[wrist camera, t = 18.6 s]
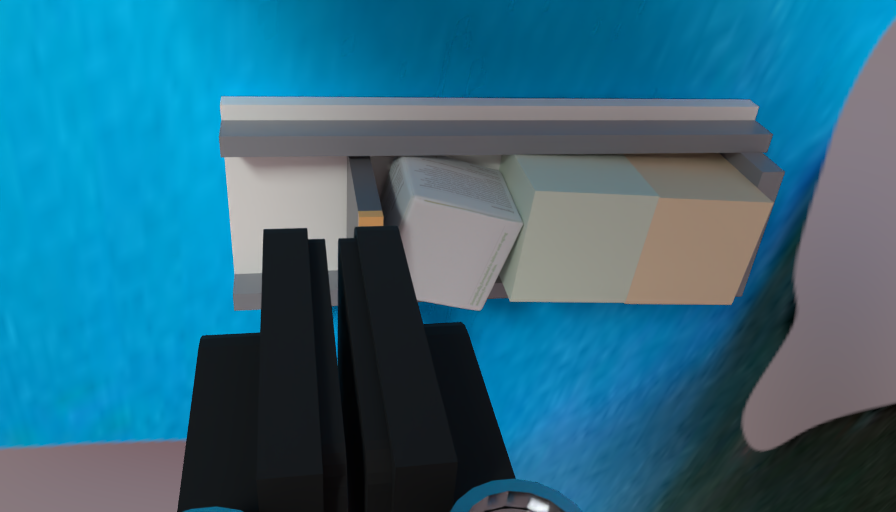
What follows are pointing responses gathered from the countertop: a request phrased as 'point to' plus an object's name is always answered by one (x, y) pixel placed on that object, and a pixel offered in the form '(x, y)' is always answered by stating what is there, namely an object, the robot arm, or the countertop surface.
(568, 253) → the sage box
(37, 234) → the countertop surface
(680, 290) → the kraft box
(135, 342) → the countertop surface
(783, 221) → the countertop surface
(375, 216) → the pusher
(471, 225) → the small box
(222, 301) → the countertop surface
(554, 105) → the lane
